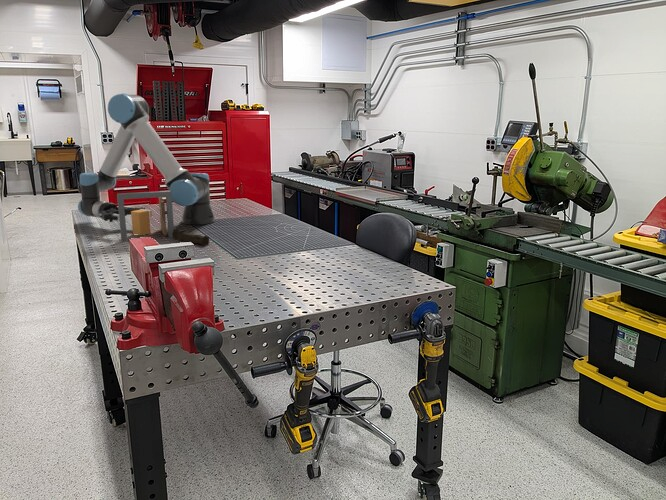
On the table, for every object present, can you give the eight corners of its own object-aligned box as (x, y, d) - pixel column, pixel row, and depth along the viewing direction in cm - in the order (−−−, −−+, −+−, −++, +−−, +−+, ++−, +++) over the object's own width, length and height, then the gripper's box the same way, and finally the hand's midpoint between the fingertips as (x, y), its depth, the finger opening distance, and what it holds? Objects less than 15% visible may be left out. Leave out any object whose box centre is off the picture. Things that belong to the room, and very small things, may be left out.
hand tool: (210, 245, 199) (209, 233, 198) (202, 246, 195) (201, 235, 194) (178, 238, 209) (177, 227, 208) (170, 239, 206) (170, 228, 204)
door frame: (173, 235, 211) (170, 190, 206) (174, 236, 209) (171, 191, 204) (121, 240, 201) (116, 193, 196) (122, 241, 200) (117, 194, 195)
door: (170, 234, 210) (168, 201, 206) (163, 235, 209) (161, 202, 205) (167, 228, 222) (165, 196, 218) (161, 228, 221) (158, 197, 217)
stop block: (132, 234, 212) (130, 211, 209) (142, 232, 216) (140, 209, 213) (140, 236, 209) (138, 212, 206) (150, 233, 213) (148, 210, 211)
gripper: (130, 214, 232) (161, 220, 222) (80, 223, 212) (112, 230, 201) (129, 198, 230) (160, 203, 220) (78, 206, 210) (110, 212, 199)
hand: (137, 216), depth 211 cm, fingers open, 13 cm apart
